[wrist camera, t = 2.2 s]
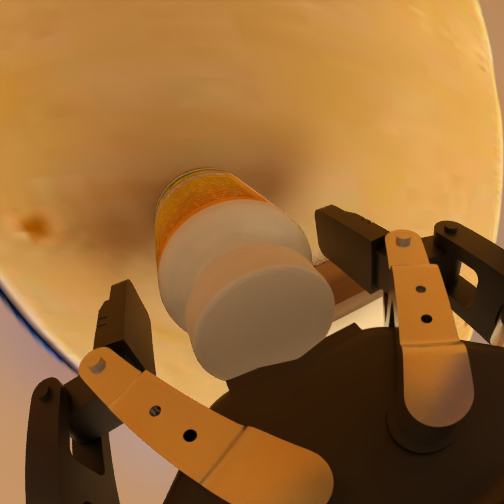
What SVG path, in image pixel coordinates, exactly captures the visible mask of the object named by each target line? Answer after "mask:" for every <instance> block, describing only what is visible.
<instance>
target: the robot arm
mask: <svg viewBox="0 0 504 504" xmlns="http://www.w3.org/2000/svg"><path fill="white" fill-rule="evenodd" d="M315 221H316V229H317V236H318V244H319V247H320V250H321V252H322V253H323V255H324V256H325V257H326V258H328V259H329V260H330V261H331V262H332V263H334V264H335V265H336V266H337V267H338V268H340V269H341V270H342V271H343V272H344V273H346V274H347V275H348V276H349V277H350V278H352V279H353V280H354V281H355V282H356V283H357V284H359V285H360V286H361V287H362V288H363V289H364V290H366V291H367V292H368V293H369V294H370V295H371V294H373V293H375V292H377V291H379V290H383V317H384V327H373V328H368V329H363V330H362V329H361V328H360V327H359V326H358V325H357V324H356V323H355V322H354V323H352V324H350V325H348V326H346V327H344V328H342V329H341V330H339V331H337V332H335V333H333V334H331V335H329V336H327V337H325V338H324V339H323V340H322V341H320V342H319V343H318V344H317V345H315V346H314V347H313V348H312V349H310V350H309V351H308V352H306V353H305V354H304V355H303V356H301V357H300V358H298V359H295V360H291V361H287V362H282V363H278V364H273V365H269V366H264V367H259V368H257V369H254V370H252V371H249V372H247V373H244V374H242V375H239V376H237V377H234V378H232V379H229V380H226V383H227V386H228V388H229V391H228V392H227V393H225V394H224V395H222V396H221V397H220V398H219V399H217V400H216V401H215V402H214V403H213V404H212V405H211V407H210V408H207V407H205V406H204V405H202V404H200V403H198V402H197V401H195V400H193V399H192V398H190V397H188V396H187V395H185V394H183V393H182V392H180V391H178V390H177V389H175V388H173V387H172V386H170V385H169V384H167V383H166V382H164V381H163V380H161V379H159V378H158V377H156V371H155V362H154V353H153V344H152V333H151V322H150V318H149V315H148V313H147V311H146V309H145V307H144V305H143V303H142V301H141V299H140V298H139V296H138V294H137V292H136V290H135V288H134V286H133V284H132V283H131V281H130V280H129V279H127V280H125V281H122V282H120V283H117V284H115V285H112V286H111V292H110V298H109V300H107V301H105V302H104V303H103V305H102V307H101V308H100V310H99V313H98V319H97V320H98V321H97V326H96V327H97V329H96V332H95V339H94V347H93V350H92V351H91V352H89V353H88V354H87V355H86V356H85V357H84V358H83V360H82V361H81V363H80V366H79V376H77V377H76V378H74V379H72V380H71V381H69V382H68V383H66V384H64V385H62V383H61V382H60V381H59V380H58V379H56V378H53V377H51V378H47V379H45V380H43V381H42V382H40V383H39V384H38V386H37V387H36V388H35V390H34V392H33V394H32V398H31V405H30V413H29V421H28V431H27V442H26V463H25V492H26V504H120V503H119V497H118V492H117V488H116V482H115V476H114V470H113V464H112V457H111V450H110V442H109V433H108V432H110V431H111V430H113V429H115V428H116V427H118V426H119V425H121V424H123V423H124V424H125V425H126V426H128V428H130V429H131V430H132V431H133V432H134V433H135V434H136V435H137V436H138V437H140V438H141V439H142V440H143V441H144V442H145V443H147V444H148V445H149V446H150V447H151V448H152V449H154V450H155V451H156V452H157V453H159V454H160V455H161V456H162V457H164V458H165V459H166V460H168V461H169V462H170V463H171V464H173V465H174V466H175V467H177V468H178V469H179V470H178V472H177V474H176V477H175V479H174V481H173V483H172V485H171V487H170V490H169V492H168V494H167V496H166V498H165V500H164V502H163V504H504V249H502V248H501V247H499V246H497V245H496V244H494V243H492V242H491V241H489V240H487V239H486V238H484V237H482V236H481V235H479V234H477V233H475V232H474V231H472V230H470V229H468V228H467V227H465V226H463V225H461V224H459V223H457V222H453V221H440V222H438V223H436V224H435V226H434V235H433V236H428V237H424V238H421V237H420V236H419V235H418V234H417V233H415V232H412V231H409V230H395V231H392V232H389V231H387V230H386V229H384V228H382V227H380V226H378V225H377V224H375V223H373V222H372V223H371V221H369V220H367V219H365V218H364V217H362V216H360V215H358V214H356V213H351V212H346V211H344V210H342V209H340V208H338V207H336V206H334V205H329V206H326V207H323V208H320V209H318V210H316V211H315ZM462 262H463V263H464V264H466V265H467V266H469V267H470V268H472V269H473V270H474V271H475V272H476V273H477V276H478V285H477V288H476V287H475V286H473V285H472V284H471V283H469V282H468V281H467V280H465V279H464V278H463V277H461V276H460V275H459V273H460V268H461V263H462ZM451 309H452V310H453V311H454V312H455V313H456V314H457V315H458V316H460V317H461V318H462V319H463V320H464V321H465V322H466V323H468V324H469V325H470V326H471V327H472V328H473V329H474V330H475V331H477V333H479V334H480V335H481V336H482V337H483V338H484V339H485V340H486V341H487V342H488V343H489V344H490V345H488V344H482V343H476V342H470V341H464V340H459V338H458V333H457V329H456V325H455V321H454V317H453V313H452V310H451ZM70 437H71V438H72V452H73V455H72V454H71V451H70Z"/></svg>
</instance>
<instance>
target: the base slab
mask: <svg viewBox="0 0 504 504" xmlns="http://www.w3.org/2000/svg"><path fill="white" fill-rule="evenodd" d="M314 268H315V269H316V270H317V271H318V272H319V273H320V274H321V275H322V276H323V277H324V278H325V280H326V281H327V282H328V284H329V286H330V287H331V290H332V292H333V295H334V299H335V313H334V318H333V322H332V325H331V327H330V330H329V332H328V334H327V335H326V337H327V336H329V335H331V334H333V333H335V332H337V331H339V330H341V329H342V328H344V327H346V326H348V325H350V324H352V323H354V322H355V323H356V324H357V325H358V326H359V327H360V328H361V329H362V330H363V329H368V328H373V327H384V317H383V290H379V291H377V292H375V293H373V294H371V295H370V294H369V293H368V292H367V291H366V290H364V289H363V288H362V287H361V286H360V285H359V284H357V283H356V282H355V281H354V280H353V279H352V278H350V277H349V276H348V275H347V274H346V273H344V272H343V271H342V270H341V269H340V268H338V267H337V266H336V265H335V264H334V263H332V262H331V261H327V262H325V263H323V264H320V265H318V266H316V267H314Z"/></svg>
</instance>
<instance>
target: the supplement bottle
mask: <svg viewBox="0 0 504 504" xmlns="http://www.w3.org/2000/svg"><path fill="white" fill-rule="evenodd" d="M155 241H156V261H157V272H158V284H159V290H160V295H161V299H162V302H163V304H164V306H165V308H166V310H167V312H168V314H169V315H170V317H171V318H172V319H173V320H174V321H175V323H176V324H177V325H178V326H179V327H181V328H182V329H183V330H184V331H186V332H187V333H188V335H189V337H190V341H191V344H192V347H193V351H194V353H195V356H196V358H197V360H198V362H199V363H200V364H201V366H202V367H203V368H204V369H205V370H206V371H207V372H208V373H209V374H211V375H213V376H214V377H216V378H218V379H220V380H223V381H226V380H229V379H232V378H234V377H237V376H239V375H242V374H244V373H247V372H249V371H252V370H254V369H257V368H259V367H264V366H269V365H273V364H278V363H282V362H287V361H291V360H295V359H298V358H300V357H301V356H303V355H304V354H305V353H306V352H308V351H309V350H310V349H312V348H313V347H314V346H315V345H317V344H318V343H319V342H320V341H322V340H323V339H324V338H325V337H326V335H327V334H328V332H329V330H330V327H331V325H332V322H333V318H334V313H335V299H334V295H333V292H332V290H331V287H330V286H329V284H328V282H327V281H326V280H325V278H324V277H323V276H322V275H321V274H320V273H319V272H318V271H317V270H316V269H315V268H314V267H313V265H312V254H311V249H310V246H309V243H308V240H307V238H306V236H305V234H304V232H303V231H302V229H301V228H300V226H299V225H298V224H297V223H296V222H295V221H294V220H293V219H292V218H291V217H290V216H289V215H288V214H287V213H285V212H284V211H283V210H281V209H280V208H278V207H277V206H276V205H274V204H273V203H272V202H270V201H269V200H268V199H266V198H265V197H263V196H262V195H261V194H259V193H258V192H257V191H255V190H254V189H253V188H251V187H250V186H249V185H247V184H246V183H245V182H244V181H242V180H240V179H239V178H237V177H236V176H234V175H233V174H231V173H229V172H226V171H223V170H220V169H215V168H204V169H197V170H193V171H190V172H187V173H185V174H183V175H181V176H179V177H177V178H176V179H175V180H173V181H172V182H171V183H170V184H169V185H168V186H167V187H166V189H165V190H164V191H163V193H162V195H161V196H160V198H159V200H158V203H157V206H156V210H155Z"/></svg>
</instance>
